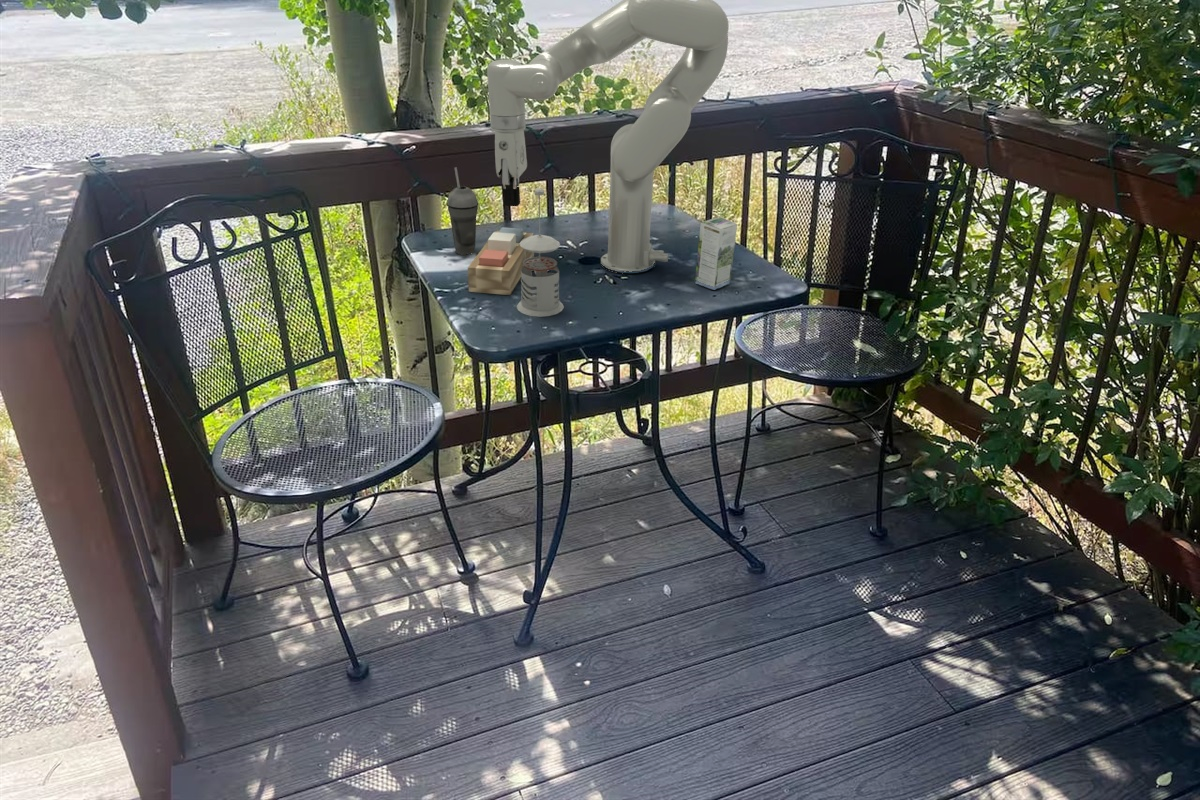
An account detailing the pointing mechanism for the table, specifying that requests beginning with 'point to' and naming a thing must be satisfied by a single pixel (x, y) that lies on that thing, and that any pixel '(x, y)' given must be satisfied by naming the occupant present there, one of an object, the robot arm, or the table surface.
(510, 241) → the white key
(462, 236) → the beverage cup
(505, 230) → the blue key
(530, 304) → the french press
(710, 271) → the syrup box
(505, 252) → the red key
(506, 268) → the key box
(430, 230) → the table surface
